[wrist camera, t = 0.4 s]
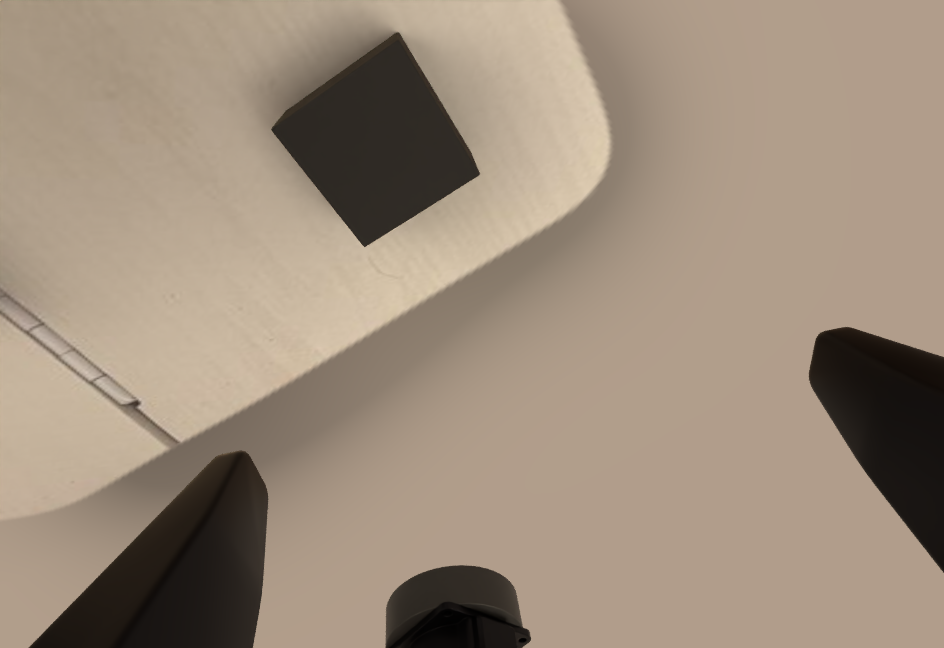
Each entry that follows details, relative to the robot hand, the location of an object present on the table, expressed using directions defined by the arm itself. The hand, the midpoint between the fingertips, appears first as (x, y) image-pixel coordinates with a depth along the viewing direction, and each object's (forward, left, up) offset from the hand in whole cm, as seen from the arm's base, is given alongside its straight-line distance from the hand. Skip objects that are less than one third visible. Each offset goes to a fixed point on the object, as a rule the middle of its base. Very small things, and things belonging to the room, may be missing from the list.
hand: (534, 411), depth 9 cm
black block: (-1, +3, -13) cm, 14 cm away
